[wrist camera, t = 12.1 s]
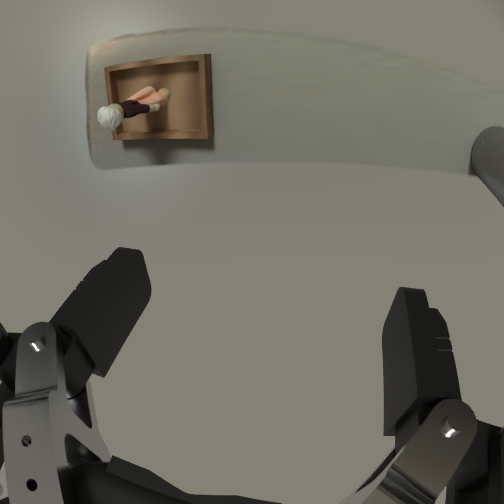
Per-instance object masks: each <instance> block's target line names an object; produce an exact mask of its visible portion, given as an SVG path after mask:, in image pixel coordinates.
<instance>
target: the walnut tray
mask: <svg viewBox="0 0 504 504" xmlns="http://www.w3.org/2000/svg"><path fill="white" fill-rule="evenodd" d="M104 69H105V80H106V89H107V98H108V106H109V105H111V104H118V103H121V102H124V101H126V100H127V99H128V98H130V97H131V96H133V95H134V94H136V93H137V92H138V91H140V90H142V89H143V88H146V87H148V86H151V87H153V88H154V89H155V90H156V92H157V93H158V91H159V90H160V89H162V88H165V89H168V90H169V92H170V97H169V100H168V103H167V104H166V105H165V106H160V109H159V110H158V111H153V112H149V113H143V114H138V115H136V116H134V117H132V118H124V119H123V121H122V122H121V123H120V124H119V126H117V127H116V129H115V130H113V131H112V134H113V140H129V139H209V138H210V137H211V136H212V135H213V134H214V131H213V108H212V81H211V54H199V55H186V56H175V57H166V58H158V59H150V60H143V61H137V62H130V63H125V64H119V65H114V66H109V67H105V68H104Z"/></svg>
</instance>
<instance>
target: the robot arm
mask: <svg viewBox="0 0 504 504" xmlns="http://www.w3.org/2000/svg"><path fill="white" fill-rule="evenodd" d="M471 157H472V165H473V169H474V171H475V173H476V175H477V176H478V177H479V178H480V180H481V181H482V182H483V183H484V184H485V185H486V186H487V187H488V189H489V190H490V191H491V192H492V193H493V194H494V196H495V197H496V198H497V199H498V201H499V202H500V203H501V204H502V205H503V207H504V128H502V127H490V128H488V129H486V130H484V131H483V132H482V133H481V134H480V135H479V136H478V137H477V139H476V141H475V143H474V145H473V148H472V155H471ZM150 296H151V283H150V280H149V276H148V273H147V268H146V264H145V261H144V256H143V253H142V252H141V251H140V250H136V249H130V248H123V247H119V248H117V249H116V250H115V251H114V252H113V253H112V254H111V255H110V257H109V258H108V259H107V260H104V261H102V262H101V263H99V264H98V265H96V266H95V267H93V268H92V269H91V270H90V271H89V272H88V274H87V275H86V276H85V277H84V279H83V281H81V282H80V283H79V284H78V286H77V287H76V290H74V291H73V292H72V293H71V295H70V296H69V297H68V298H67V299H66V301H65V302H64V303H63V304H62V306H61V307H60V308H59V310H58V311H57V312H56V314H55V315H54V316H53V318H52V319H51V320H50V321H49V322H48V323H47V322H38V323H35V324H32V325H31V326H29V327H28V328H27V329H25V331H24V332H23V333H7V332H6V330H5V328H4V327H3V326H2V324H1V323H0V380H1V381H2V383H1V384H0V469H1V467H2V465H3V462H4V461H5V472H6V480H7V488H8V495H9V497H6V498H4V499H1V500H0V504H281V503H274V502H269V501H263V500H257V499H252V498H247V497H241V496H237V495H235V496H234V495H233V496H232V495H231V496H229V495H226V496H225V495H220V496H219V495H195V494H188V493H185V492H183V491H181V490H180V489H178V488H176V487H175V486H173V485H171V484H170V483H168V482H167V481H165V480H163V479H162V478H160V477H159V476H157V475H156V474H154V473H153V472H151V471H150V470H148V469H145V468H142V467H140V466H137V465H135V464H132V463H130V462H127V461H125V460H122V459H120V458H118V457H115V456H112V458H110V455H109V452H108V449H107V447H106V445H105V443H104V441H103V440H102V438H101V436H100V433H99V430H98V425H97V420H96V414H95V409H94V403H93V397H92V390H91V385H90V381H89V380H88V379H89V378H90V376H91V374H92V373H93V374H96V375H98V376H101V377H103V378H104V377H105V376H106V374H107V372H108V370H109V369H110V367H111V365H112V363H113V362H114V360H115V358H116V356H117V355H118V353H119V351H120V349H121V348H122V346H123V344H124V342H125V341H126V339H127V337H128V336H129V334H130V332H131V331H132V329H133V327H134V325H135V324H136V322H137V320H138V319H139V317H140V316H141V314H142V312H143V311H144V309H145V307H146V306H147V304H148V302H149V300H150ZM449 337H450V336H449V332H448V328H447V324H446V321H445V320H444V318H443V317H442V315H441V314H440V312H439V311H438V310H437V309H435V308H429V305H428V301H427V297H426V293H425V291H424V290H423V289H414V288H406V287H400V288H399V289H398V291H397V293H396V296H395V299H394V301H393V303H392V306H391V308H390V311H389V313H388V316H387V318H386V320H385V323H384V327H383V333H382V350H383V376H384V436H395V446H394V447H393V448H392V450H391V451H390V452H389V453H388V455H387V456H386V457H385V458H384V459H383V460H382V461H381V463H380V464H379V465H378V466H377V467H376V468H375V469H374V471H373V472H372V473H371V474H370V475H369V476H368V477H367V478H366V479H365V480H364V481H363V482H362V483H361V484H360V485H359V487H358V488H357V489H356V490H355V491H354V492H353V493H352V494H350V495H349V496H348V497H347V498H346V499H345V500H343V501H342V502H341V503H340V504H434V503H435V501H436V499H437V498H438V496H439V495H440V493H441V492H442V490H443V489H444V487H445V486H447V490H446V502H445V504H504V427H503V428H501V427H497V426H494V425H491V424H487V423H485V422H482V421H479V420H477V419H476V416H475V414H474V412H473V410H472V409H471V408H470V406H469V405H467V404H466V403H464V402H463V401H462V399H461V394H460V388H459V381H458V375H457V370H456V365H455V360H454V355H453V352H452V345H451V341H450V340H449ZM2 493H3V487H2V485H1V484H0V496H1V495H2Z"/></svg>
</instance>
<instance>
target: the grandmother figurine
mask: <svg viewBox="0 0 504 504" xmlns="http://www.w3.org/2000/svg"><path fill="white" fill-rule="evenodd" d="M169 97H170V92H169V90H168V89H165V88H162V89H160V90H159V91H158V93H157V92H156V90H155V89H154V88H153V87H151V86H148V87H146V88H143V89H142V90H140V91H138V92H137V93H136V94H134V95H133V96H131V97H130V98H128V99H127V100H126V101H124V102H121V103H118V104H111V105H109V106H107V107H101V108H100V109H99V111H98V121H99V122H100V124H101V125H102V126H103V127H104V128H106V129H107V130H111V131H113V130H115V129H116V127H117V126H119V124H120V123H121V122H122V121H123V119H124V118H132V117H134V116H136V115H138V114H143V113H149V112H153V111H158V110H159V109H160V106H165V105H166V104H167V103H168V100H169Z"/></svg>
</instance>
